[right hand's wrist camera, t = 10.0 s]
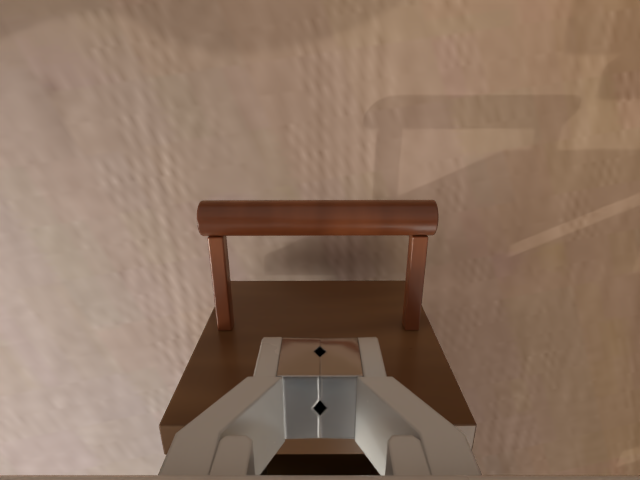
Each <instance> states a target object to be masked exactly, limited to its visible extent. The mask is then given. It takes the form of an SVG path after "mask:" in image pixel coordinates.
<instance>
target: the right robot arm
mask: <svg viewBox="0 0 640 480" xmlns="http://www.w3.org/2000/svg"><path fill="white" fill-rule="evenodd" d="M306 438H333V439H355V442H356V443H357V444H358V446H359V447H360V448H361V450H362V451H363V452H364V454H365V455H366V456H367V458H368V459H369V460H370V462H371V463H372V464H373V466H374V467H375V468H376V470H377V471H378V473H379V474H380V475H260V474H261V473H262V471H263V470H264V469H265V467H266V466H267V465H268V463H269V462H270V461H271V459H272V458H273V457H274V455H275V454H276V453H277V451H278V450H279V449H280V447H281V446H282V445H283V443H284V442H285V439H306ZM0 480H640V475H482V474H481V472H480V469H479V467H478V464H477V462H476V460H475V457H474V455H473V453H472V450H471V448H470V445H469V443H468V441H467V438H466V436H465V434H464V433H463V432H461V431H460V430H459V429H458V428H456V427H455V426H454V425H453V424H451V423H450V422H449V421H448V420H446V419H445V418H444V417H443V416H441V415H440V414H439V413H438V412H436V411H435V410H434V409H432V408H431V407H430V406H429V405H427V404H426V403H425V402H424V401H422V400H421V399H420V398H419V397H417V396H416V395H415V394H414V393H412V392H411V391H410V390H409V389H407V388H406V387H405V386H404V385H402V384H401V383H400V382H399V381H397V380H396V379H395V378H393V377H387V375H386V371H385V367H384V363H383V358H382V354H381V350H380V346H379V342H378V338H377V337H358V338H301V337H283V338H282V337H264V338H263V339H262V341H261V345H260V350H259V354H258V358H257V362H256V367H255V371H254V375H253V377H247V378H245V379H244V380H243V381H241V382H240V383H239V384H238V385H236V386H235V387H234V388H233V389H231V390H230V391H229V392H228V393H226V394H225V395H224V396H223V397H221V398H220V399H219V400H217V401H216V402H215V403H214V404H212V405H211V406H210V407H209V408H207V409H206V410H205V411H204V412H202V413H201V414H200V415H199V416H197V417H196V418H195V419H193V420H192V421H191V422H190V423H188V424H187V425H186V426H185V427H183V428H182V429H181V430H180V431H178V432H177V433H176V434H175V436H174V439H173V441H172V443H171V446H170V448H169V450H168V453H167V455H166V457H165V460H164V462H163V465H162V467H161V469H160V472H159V474H158V475H0Z"/></svg>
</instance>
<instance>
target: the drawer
mask: <svg viewBox="0 0 640 480" xmlns="http://www.w3.org/2000/svg"><path fill="white" fill-rule="evenodd" d="M197 225H198V229H199V232H200V234H201V235H203V236H209V237H208V247H209V256H210V265H211V274H212V283H213V292H214V301H215V307H214V309H213V311H212V314H211V316H210V318H209V320H208V322H207V324H206V326H205V329H204V331H203V333H202V335H201V337H200V339H199V341H198V343H197V346H196V348H195V350H194V352H193V354H192V356H191V358H190V360H189V363H188V365H187V367H186V369H185V371H184V373H183V375H182V378H181V380H180V382H179V384H178V386H177V388H176V390H175V392H174V395H173V397H172V399H171V401H170V403H169V405H168V407H167V409H166V412H165V414H164V416H163V418H162V420H161V422H160V424H159V429H160V434H161V439H162V444H163V449H164V454H165V455H167V453H168V450H169V448H170V446H171V443H172V441H173V439H174V436H175V434H176V433H177V432H178V431H180V430H181V429H182V428H183V427H185V426H186V425H187V424H188V423H190V422H191V421H192V420H193V419H195V418H196V417H197V416H199V415H200V414H201V413H202V412H204V411H205V410H206V409H207V408H209V407H210V406H211V405H212V404H214V403H215V402H216V401H217V400H219V399H220V398H221V397H223V396H224V395H225V394H226V393H228V392H229V391H230V390H231V389H233V388H234V387H235V386H236V385H238V384H239V383H240V382H241V381H243V380H244V379H245V378H247V377H253V375H254V371H255V367H256V362H257V358H258V354H259V350H260V345H261V341H262V339H263V338H264V337H282V338H283V337H301V338H358V337H377V338H378V342H379V346H380V350H381V354H382V358H383V363H384V367H385V371H386V375H387V377H393V378H395V379H396V380H397V381H399V382H400V383H401V384H402V385H404V386H405V387H406V388H407V389H409V390H410V391H411V392H412V393H414V394H415V395H416V396H417V397H419V398H420V399H421V400H422V401H424V402H425V403H426V404H427V405H429V406H430V407H431V408H432V409H434V410H435V411H436V412H438V413H439V414H440V415H441V416H443V417H444V418H445V419H446V420H448V421H449V422H450V423H451V424H453V425H454V426H455V427H456V428H458V429H459V430H460V431H461V432H463V433H464V434H465V436H466V438H467V441H468V443H469V445H470V448H471V450H472V447H473V441H474V436H475V430H476V423H475V420H474V418H473V416H472V414H471V412H470V410H469V407H468V405H467V403H466V401H465V399H464V397H463V394H462V392H461V390H460V388H459V386H458V383H457V381H456V379H455V377H454V375H453V373H452V370H451V368H450V366H449V364H448V362H447V360H446V357H445V355H444V353H443V351H442V349H441V346H440V344H439V342H438V340H437V338H436V336H435V333H434V331H433V329H432V327H431V325H430V323H429V320H428V318H427V316H426V314H425V312H424V310H423V307H422V305H421V303H422V294H423V284H424V274H425V264H426V254H427V244H428V236H427V235H434V234H435V233H436V230H437V226H438V208H437V204H436V202H435V201H434V200H219V201H201V202H200V203H199V205H198V210H197ZM321 235H409V245H408V257H407V269H406V281H230V271H229V260H228V250H227V239H226V236H321ZM260 475H380V474H379V473H378V471H377V470H376V468H375V467H374V466H373V464H372V463H371V462H370V460H369V459H368V458H367V456H366V455H365V454H364V452H363V451H362V450H361V448H360V447H359V446H358V444H357V443H356V442H355V439H333V438H306V439H285V442H284V443H283V445H282V446H281V447H280V449H279V450H278V451H277V453H276V454H275V455H274V457H273V458H272V459H271V461H270V462H269V463H268V465H267V466H266V467H265V469H264V470H263V471H262V473H261V474H260Z"/></svg>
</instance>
